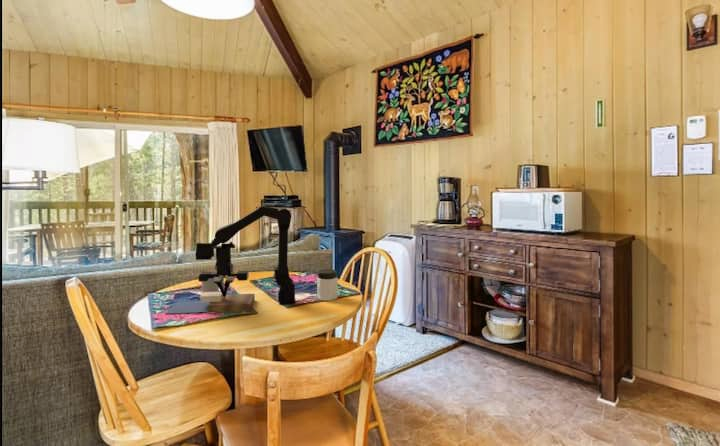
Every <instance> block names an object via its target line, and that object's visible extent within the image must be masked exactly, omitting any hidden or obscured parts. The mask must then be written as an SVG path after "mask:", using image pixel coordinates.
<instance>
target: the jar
mask: <svg viewBox="0 0 720 446" xmlns="http://www.w3.org/2000/svg"><path fill="white" fill-rule="evenodd" d="M337 275H338V272H337V270H336V269H332V268H323V269H319V270H318V271H317V277H316V290H317V291H316V294H317V295H316V297H318V298H317V299H319V300H320V301H324V302H325V301H326V302H331V301H333V300H336V299H338V277H337Z"/></svg>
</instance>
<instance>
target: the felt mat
mask: <svg viewBox="0 0 720 446" xmlns="http://www.w3.org/2000/svg"><path fill="white" fill-rule="evenodd" d="M209 304H210V302H200V300H199V301H197V300H196V301H176V302H175V303H174V304H172V306H171V307H170V308H169V309H168V310H167V311H166V312H165V315H183V314H182V313H190V314H200V313H199V312H208V305H209Z"/></svg>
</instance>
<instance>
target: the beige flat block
mask: <svg viewBox="0 0 720 446" xmlns="http://www.w3.org/2000/svg"><path fill="white" fill-rule="evenodd" d="M223 298H224V297H223V295H222V293H221V291H218V292H204V293H201V294H200V296H199V301H200V302H221V301H222V299H223Z"/></svg>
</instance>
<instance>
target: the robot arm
mask: <svg viewBox="0 0 720 446" xmlns="http://www.w3.org/2000/svg"><path fill="white" fill-rule="evenodd" d="M263 217H268V218H271V219H273V220H274V219H275V220H276V221H277V228H278V246H277V247H278V248H277V249H278V250H277V255H278V257H277V266H273V275H272V276H273V280H275V283H276V285H278V287H279V290H278V292H277V297H278V301H277V302H278V303H279V305H295V304H296V284H295V282H294V280H293V279H292V278H291V277H290V272H289V267H288V247H289V246H288V245H289V244H288V243H289V230H290V226H291V225H290V224H291V221H292V213H291V211H290V210H289V209H288V208H286V207H280V208H275V207H269V206H266V205H260V206H259V207H258V208H256V209H255V210H253V211H251V212H249V213H247V214H246V215H244V216H243V217H241V218H240V219H238V220H236V221H235V222H232V223H229V224H226V225H224V226H221V227H219V228H218V229H217V230H216V232H215V234H214V238H213V239H212V240H211V242H196V244H195V245H196V247H195V248H196V249H195V260H196V261H203V260H204V261H207V260H209V261H210V260H212V259H213V258H214V257H215V265H214V267H215V270H216V271H217V273H216V274H212V272H211V271H212V270H209V271H208V272H207V271H202V272H200V274H199V275H198V282H201V283H202V281H207V280H208V279H212V278H214V283H216V284H217V285H218V287H219V291H220V292H221V293H222V295H223V297H226V295H227V294H228V290H229V287H230V285H231V284H232V283H233V282H234V281H235V279H237V280H238V282H239V281H242V282H245V281H248V279H249V277H250V275H249V271H248V270H238V272H235V273H234V264H233V263H232V253H231V252H232V249H235V248H236V244H235V243H234V242H232V241H230V240H231V239H232V238H233V237H235V235H236V234H238V233H239V232H240V231H241V230H243V229H245V228H247V227H248V226H250V225H251V224H253V223H254V222H256V221H258V220H259V219H261V218H263ZM229 241H230V242H229ZM224 279H225V280H224Z"/></svg>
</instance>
